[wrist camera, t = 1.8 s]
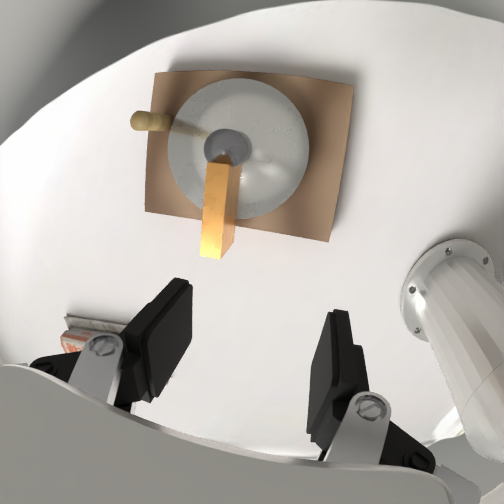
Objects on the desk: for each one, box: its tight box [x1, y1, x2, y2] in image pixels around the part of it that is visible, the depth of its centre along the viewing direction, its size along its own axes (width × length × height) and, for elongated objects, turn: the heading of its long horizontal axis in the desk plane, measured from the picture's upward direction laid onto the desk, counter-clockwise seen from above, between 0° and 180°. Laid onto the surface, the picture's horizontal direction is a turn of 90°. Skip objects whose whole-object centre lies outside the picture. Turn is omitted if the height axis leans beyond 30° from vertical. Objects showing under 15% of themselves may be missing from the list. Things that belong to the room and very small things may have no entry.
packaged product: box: [60, 316, 169, 385], centre depth 37 cm, size 18×5×10 cm
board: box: [130, 71, 354, 242], centre depth 22 cm, size 18×14×7 cm
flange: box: [168, 78, 309, 259], centre depth 21 cm, size 14×12×5 cm
